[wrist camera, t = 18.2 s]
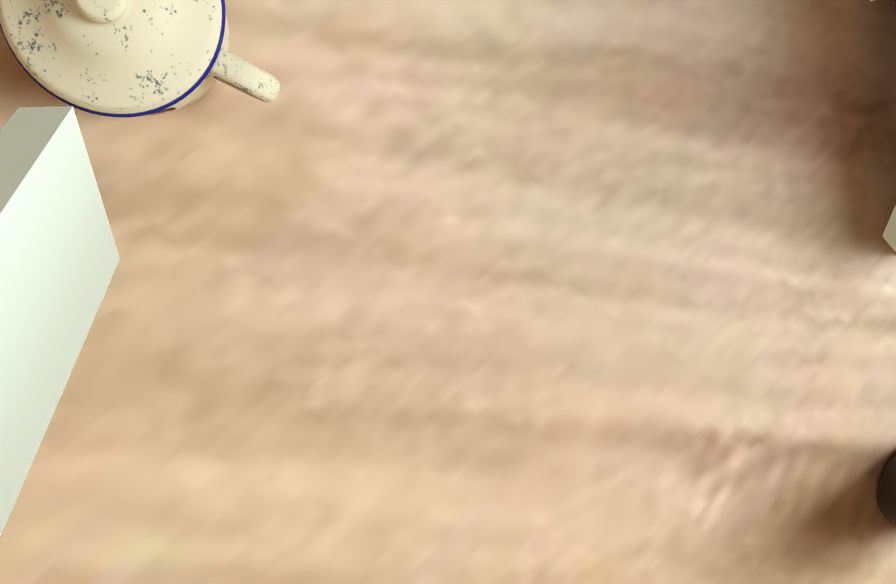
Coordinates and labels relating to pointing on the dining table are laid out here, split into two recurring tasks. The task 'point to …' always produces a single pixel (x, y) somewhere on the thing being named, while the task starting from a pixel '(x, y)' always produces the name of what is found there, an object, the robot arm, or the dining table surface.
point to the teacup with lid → (128, 53)
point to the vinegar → (888, 490)
